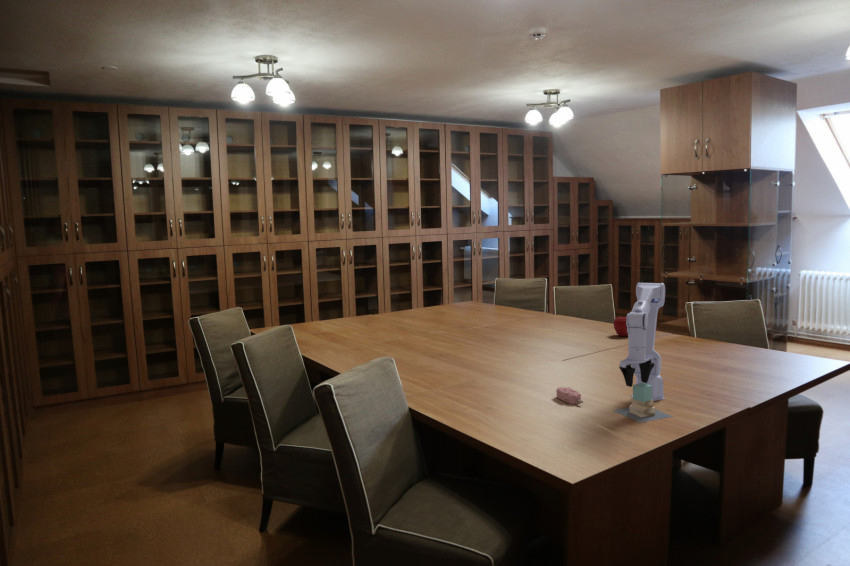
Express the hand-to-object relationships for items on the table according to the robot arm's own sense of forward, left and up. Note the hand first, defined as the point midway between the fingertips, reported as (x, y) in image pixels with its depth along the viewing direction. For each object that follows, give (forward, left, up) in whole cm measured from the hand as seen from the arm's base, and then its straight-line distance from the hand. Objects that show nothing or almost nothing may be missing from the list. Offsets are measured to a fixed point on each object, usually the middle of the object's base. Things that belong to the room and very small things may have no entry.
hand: (636, 384), depth 207 cm
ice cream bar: (+13, -21, -11) cm, 27 cm away
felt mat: (0, +3, -10) cm, 10 cm away
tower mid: (0, +3, -7) cm, 8 cm away
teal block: (0, +3, -5) cm, 5 cm away
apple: (-79, -104, -10) cm, 131 cm away
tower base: (0, +3, -10) cm, 10 cm away
